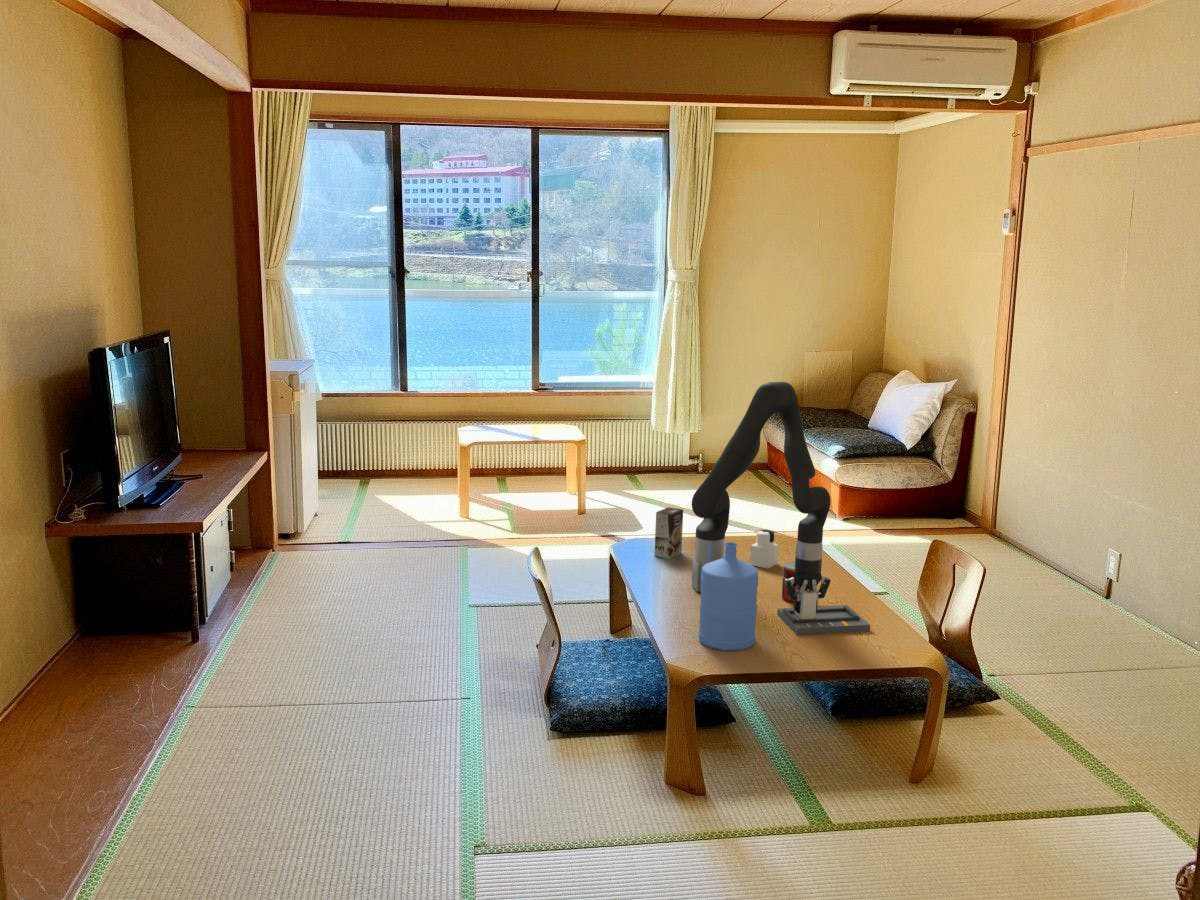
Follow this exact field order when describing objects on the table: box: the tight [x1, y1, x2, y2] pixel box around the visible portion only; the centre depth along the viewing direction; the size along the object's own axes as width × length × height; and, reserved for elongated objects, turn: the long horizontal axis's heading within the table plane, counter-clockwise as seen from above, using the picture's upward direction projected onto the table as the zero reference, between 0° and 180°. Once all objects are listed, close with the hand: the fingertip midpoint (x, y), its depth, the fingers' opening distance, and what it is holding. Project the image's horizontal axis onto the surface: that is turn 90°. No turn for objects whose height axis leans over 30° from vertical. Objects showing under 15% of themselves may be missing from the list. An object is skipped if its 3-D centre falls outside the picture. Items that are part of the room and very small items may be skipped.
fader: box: [795, 589, 817, 619], centre depth 292 cm, size 4×6×8 cm, turn 10°
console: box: [776, 604, 871, 636], centre depth 294 cm, size 22×16×3 cm
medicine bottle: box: [749, 529, 779, 570], centre depth 345 cm, size 7×7×12 cm
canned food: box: [781, 561, 797, 604], centre depth 313 cm, size 8×8×11 cm
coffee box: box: [654, 506, 684, 560], centre depth 354 cm, size 9×6×16 cm
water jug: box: [698, 541, 759, 652], centre depth 277 cm, size 16×16×28 cm
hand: (805, 611), depth 293 cm, fingers closed on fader, 4 cm apart
